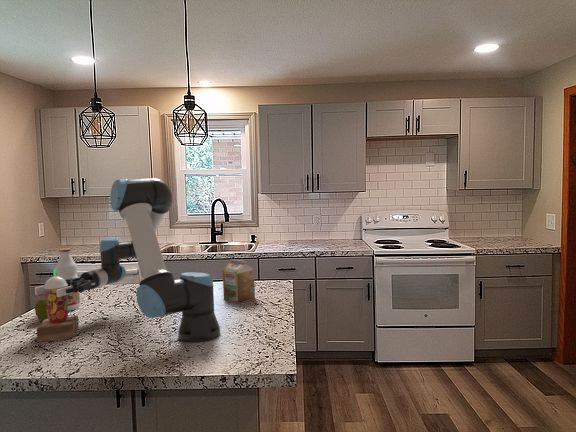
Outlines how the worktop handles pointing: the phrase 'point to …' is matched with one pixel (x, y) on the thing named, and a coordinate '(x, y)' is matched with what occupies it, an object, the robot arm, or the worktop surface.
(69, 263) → the fruit juice
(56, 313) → the smoothie
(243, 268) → the milk carton
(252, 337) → the worktop surface
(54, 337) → the brown flat block
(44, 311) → the apple
